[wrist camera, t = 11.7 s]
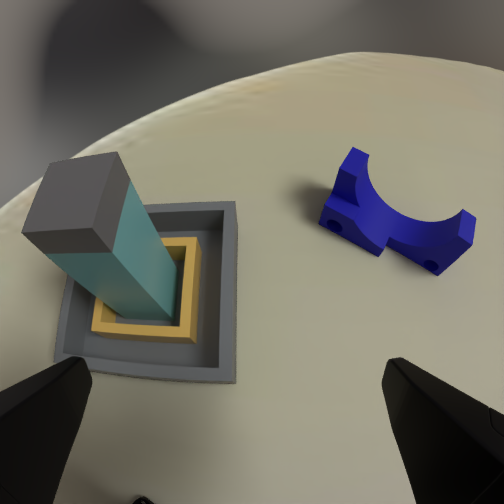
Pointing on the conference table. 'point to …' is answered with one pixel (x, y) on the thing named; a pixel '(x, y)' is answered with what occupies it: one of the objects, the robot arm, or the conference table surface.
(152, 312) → the plug
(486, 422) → the robot arm
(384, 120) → the conference table surface
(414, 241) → the cable clip
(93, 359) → the socket box
